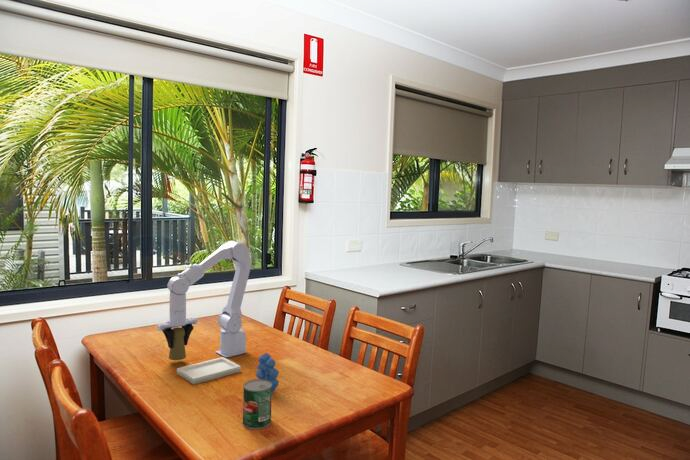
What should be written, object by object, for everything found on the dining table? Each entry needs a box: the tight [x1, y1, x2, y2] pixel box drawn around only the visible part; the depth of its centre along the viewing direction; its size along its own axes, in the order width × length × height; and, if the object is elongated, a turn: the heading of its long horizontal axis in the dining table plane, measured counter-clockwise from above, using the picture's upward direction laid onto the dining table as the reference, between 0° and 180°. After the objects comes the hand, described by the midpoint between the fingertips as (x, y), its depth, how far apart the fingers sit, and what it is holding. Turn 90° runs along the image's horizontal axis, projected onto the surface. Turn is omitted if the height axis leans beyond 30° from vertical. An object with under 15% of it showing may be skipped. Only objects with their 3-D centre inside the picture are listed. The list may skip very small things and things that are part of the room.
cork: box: [168, 326, 187, 361], centre depth 181 cm, size 6×6×11 cm
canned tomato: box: [242, 378, 273, 430], centre depth 137 cm, size 8×8×11 cm
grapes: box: [255, 352, 280, 394], centre depth 159 cm, size 12×7×12 cm, turn 36°
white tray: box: [176, 356, 242, 386], centre depth 172 cm, size 18×12×2 cm, turn 134°
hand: (177, 346), depth 181 cm, fingers closed on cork, 5 cm apart
